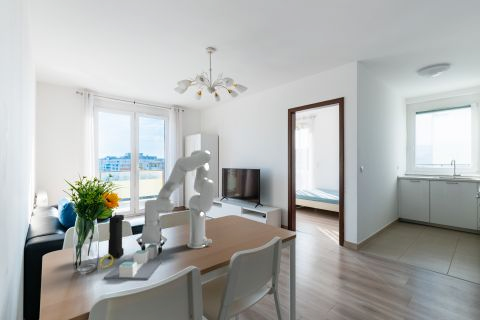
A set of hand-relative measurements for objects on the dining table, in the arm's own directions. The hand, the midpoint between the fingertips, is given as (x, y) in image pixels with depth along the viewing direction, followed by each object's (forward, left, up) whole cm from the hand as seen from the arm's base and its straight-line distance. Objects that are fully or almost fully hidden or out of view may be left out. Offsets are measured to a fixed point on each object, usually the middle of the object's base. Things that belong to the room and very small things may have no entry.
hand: (151, 253), depth 127 cm
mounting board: (+2, +15, -2) cm, 16 cm away
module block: (0, 0, -2) cm, 2 cm away
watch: (+18, +12, -2) cm, 22 cm away
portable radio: (+20, 0, -2) cm, 20 cm away
